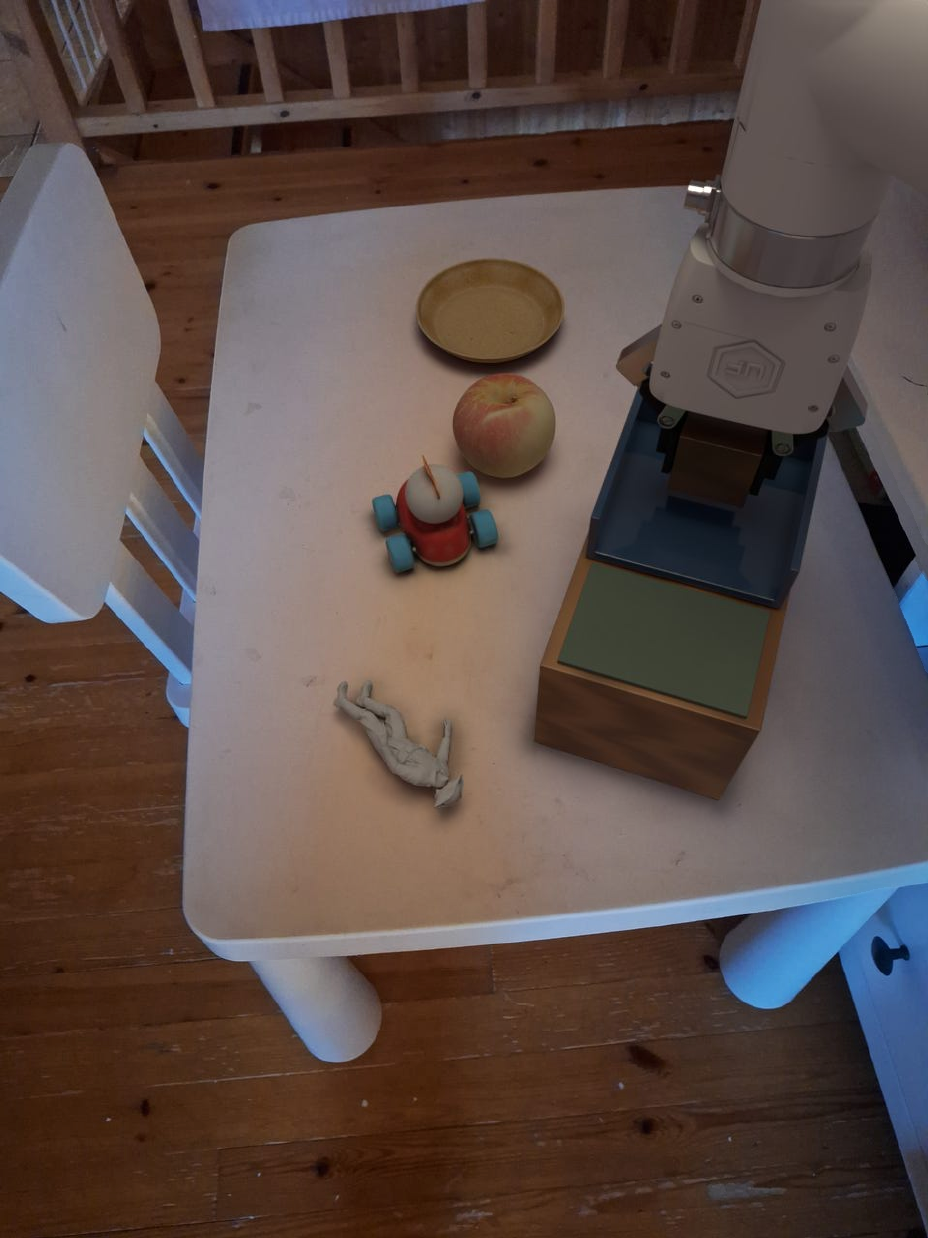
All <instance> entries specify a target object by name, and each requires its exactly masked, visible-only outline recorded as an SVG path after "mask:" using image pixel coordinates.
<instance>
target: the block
mask: <svg viewBox="0 0 928 1238" xmlns="http://www.w3.org/2000/svg"><path fill="white" fill-rule="evenodd" d="M768 432H769V429H764V428H760V427H755V426H751V425H746V424H742V423H738V422H733V421H729V420H725V419H720V418H716V417H712V416H708V415H704V414H700V413H696V412H692V411H688V413H687V416H686V419H685V422H684V426H683V429H682V432H681V435H680V438H679V442H678V446H677V450H676V454H675V458H674V462H673V466H672V470H671V474H670V478H669V482H668V486H667V489H668V490H672V491H676V492H680V493H684V494H688V495H692V496H696V497H700V498H704V499H708V500H712V501H716V502H720V503H724V504H728V505H731V506H735V507H739V508H743V507H744V504H745V501H746V499H747V496H748V493H749V491H750V488H751V485H752V483H753V480H754V477H755V475H756V472H757V469H758V467H759V464H760V461H761V459H762V456H763V452H764V448H765V444H766V440H767V436H768Z"/></svg>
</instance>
